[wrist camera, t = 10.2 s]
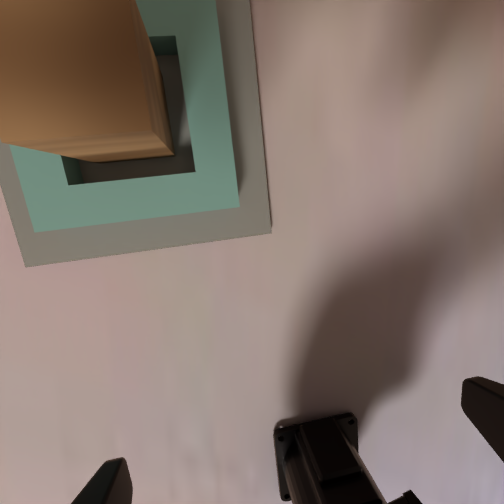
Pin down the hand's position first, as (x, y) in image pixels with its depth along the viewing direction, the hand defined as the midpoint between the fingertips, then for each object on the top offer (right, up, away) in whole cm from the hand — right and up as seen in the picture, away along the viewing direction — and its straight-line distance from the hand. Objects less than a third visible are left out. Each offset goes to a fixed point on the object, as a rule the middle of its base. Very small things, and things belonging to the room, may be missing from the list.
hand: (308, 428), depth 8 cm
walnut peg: (-8, +11, +8) cm, 16 cm away
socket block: (-8, +12, +8) cm, 16 cm away
